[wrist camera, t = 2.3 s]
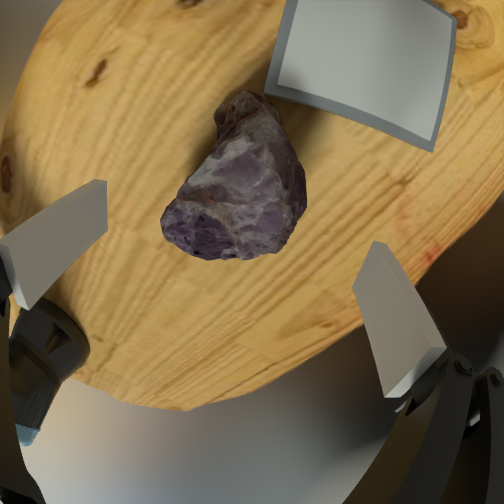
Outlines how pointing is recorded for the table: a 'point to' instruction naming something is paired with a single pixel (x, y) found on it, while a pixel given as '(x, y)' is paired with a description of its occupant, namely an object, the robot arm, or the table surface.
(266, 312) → the table surface
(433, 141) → the grey flat square block
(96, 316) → the table surface
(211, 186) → the rock
